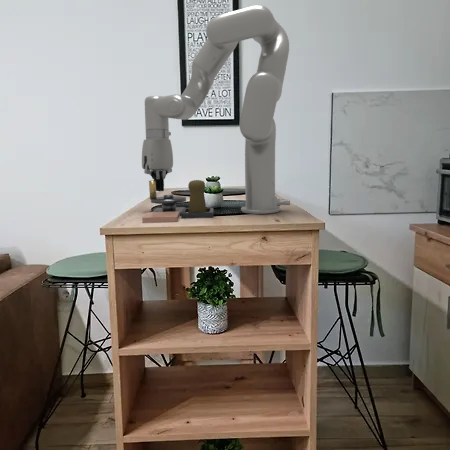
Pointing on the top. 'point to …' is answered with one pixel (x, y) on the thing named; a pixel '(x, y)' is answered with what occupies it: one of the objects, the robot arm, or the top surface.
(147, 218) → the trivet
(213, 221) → the top surface
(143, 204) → the top surface
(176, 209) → the hub
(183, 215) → the collar
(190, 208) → the cork
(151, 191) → the handwheel
